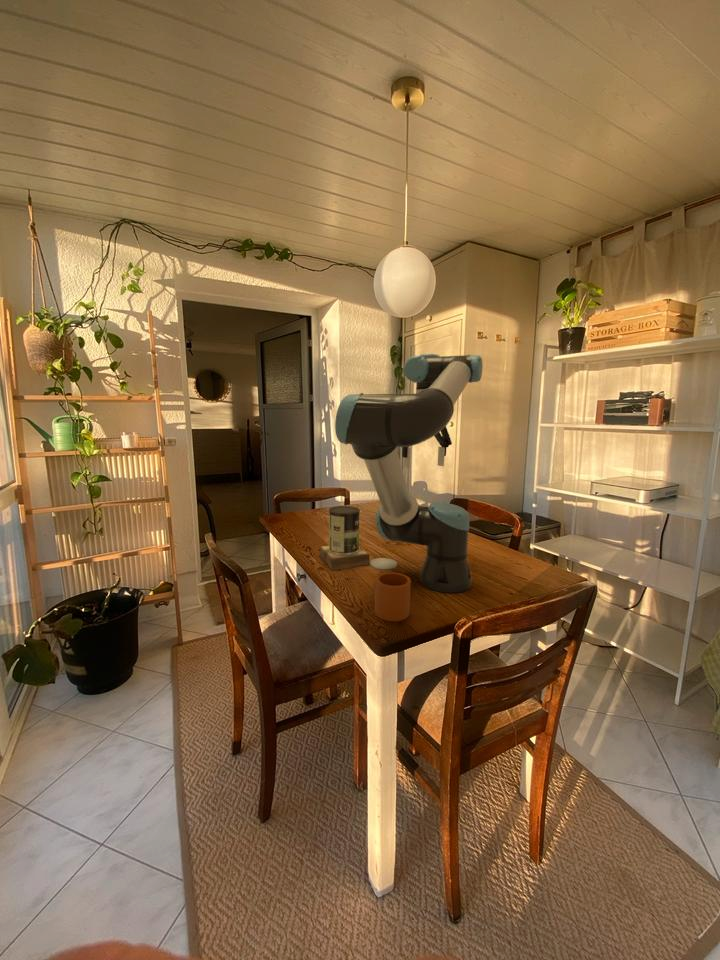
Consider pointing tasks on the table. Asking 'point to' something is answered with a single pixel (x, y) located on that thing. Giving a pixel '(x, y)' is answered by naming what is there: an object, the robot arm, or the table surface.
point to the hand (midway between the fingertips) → (424, 466)
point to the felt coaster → (383, 563)
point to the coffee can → (344, 530)
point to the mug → (392, 596)
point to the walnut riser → (344, 559)
